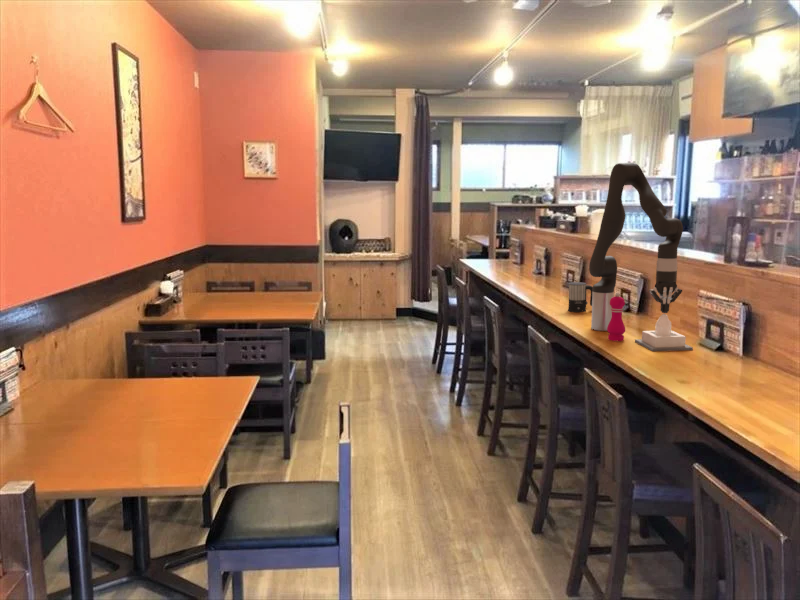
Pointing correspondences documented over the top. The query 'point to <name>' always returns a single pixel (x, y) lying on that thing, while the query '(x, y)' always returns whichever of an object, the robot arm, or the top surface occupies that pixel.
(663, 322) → the white pointed cylinder
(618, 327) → the pepper mill
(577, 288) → the milk frother
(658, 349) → the holder
